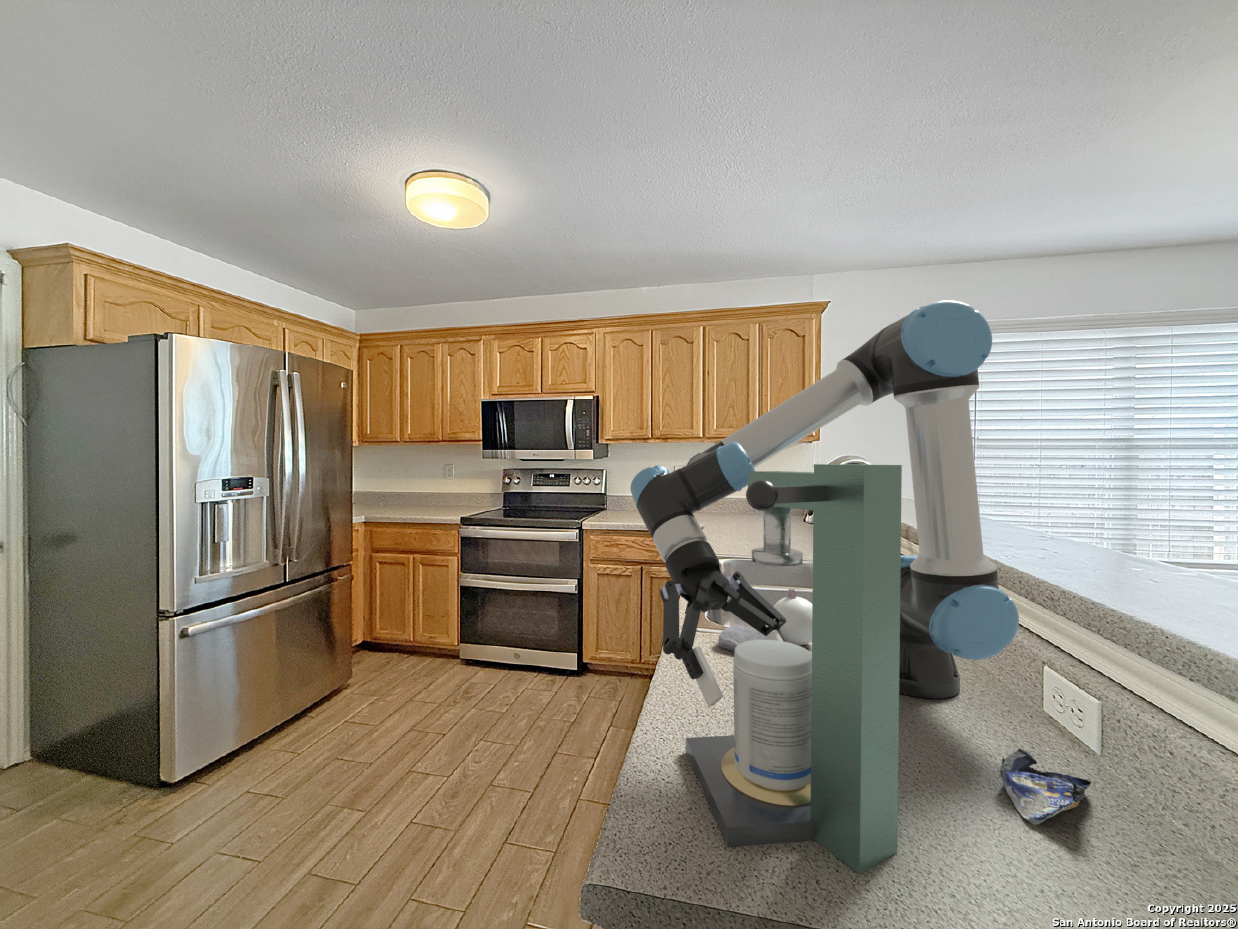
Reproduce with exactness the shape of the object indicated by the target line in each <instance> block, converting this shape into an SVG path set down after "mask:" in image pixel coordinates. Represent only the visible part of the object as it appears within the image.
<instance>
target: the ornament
mask: <svg viewBox="0 0 1238 929" xmlns="http://www.w3.org/2000/svg"><path fill="white" fill-rule="evenodd" d="M773 607H774V608H775V609H776V610H777V611H778V612H779V613H780V614H782V615H783V616H784V617H785V618H786V623H785V624H784V625H783V626H782V627H781V628H780V632H781V634H782V635H783V637H784V639H785V641H786V642H788V643H792V644H796V645H798V646H804V645H807V644H809V643H812V602H811V601H809V600H808V599H806V598H803V597H800V596H796V591H795V588H788V591H787V595H786V597H783V598H781V599H779V600H778V601H776V603H775V604H774V605H773ZM774 620H775V619H774Z"/></svg>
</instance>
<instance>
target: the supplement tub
mask: <svg viewBox="0 0 1238 929" xmlns="http://www.w3.org/2000/svg"><path fill="white" fill-rule="evenodd" d="M733 653H734V654H733V656H734V658H733V666H732V667H733V735H734V754H735V764H736V767H737V769H738V770H739V772H740V773H741V774H742V775H743V776H744V777H745V778H746V779H748V780H749V781H751V782H753V783H755V784H757V785H760V786H762V787H765V788H768V789H772V790H780V791H788V790H795V789H799V788H802V787H804V786H806V785H807V784H809V783H810V782H811V702H812V652H810V651H809V650H808V649H806V648H805V647H803V646H802V645H796V644H792V643H788V642H783V641H776V640H752V641H747V642H743V643H741V644H739V645H737V646H736V648H735V650H734V651H733Z"/></svg>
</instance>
